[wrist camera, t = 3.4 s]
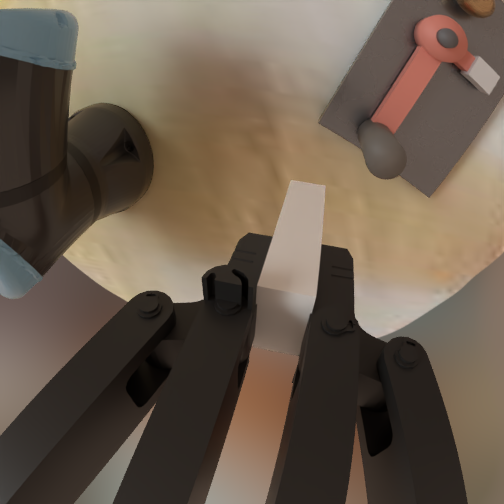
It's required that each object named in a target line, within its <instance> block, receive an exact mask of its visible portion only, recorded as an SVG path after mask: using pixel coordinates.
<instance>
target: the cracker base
mask: <svg viewBox="0 0 504 504" xmlns="http://www.w3.org/2000/svg"><path fill="white" fill-rule="evenodd" d="M433 15H445V16H448V17H450V18H452V19H453V20H455V21H456V22H457V23H458V24H459V25H460V26H461V27H462V29H463V30H464V32H465V34H466V37H467V41H468V49H467V51H468V52H470V53H471V54H472V55H473V56H480V57H481V58H482V59H483V60H484V61H485V62H486V63H487V64H488V65H489V66H490V67H491V68H492V69H493V70H494V71H495V72H496V73H497V74H498V75H499V76H500V78H499V80H498V82H497V83H496V85H495V87H494V88H493V90H492V91H491V93H490V95H488V94H485V93H483V92H480V91H479V90H478V89H477V88H476V87H475V86H474V85H473V84H472V83H471V82H470V81H469V80H468V79H467V78H465V77H464V76H463V75H462V74H461V73H460V72H461V70H460V69H459V68H458V67H457V66H456V65H455V64H454V63H449V62H441V64H440V65H439V67H438V68H437V70H436V71H435V73H434V75H433V76H432V78H431V79H430V81H429V82H428V84H427V85H426V87H425V89H424V90H423V92H422V93H421V95H420V96H419V98H418V99H417V101H416V102H415V104H414V105H413V107H412V108H411V110H410V111H409V113H408V114H407V116H406V117H405V119H404V120H403V122H402V123H401V124H400V126H399V127H398V129H397V130H396V132H395V133H394V136H395V137H396V139H397V140H398V141H399V143H400V144H401V146H402V147H403V148H404V150H405V152H406V156H407V163H406V166H405V169H404V170H403V172H402V173H401V174H400V176H401V177H402V178H404V179H405V180H406V181H408V182H409V183H411V184H412V185H413V186H414V187H416V188H417V189H418V190H420V191H421V192H422V193H424V194H425V195H426V196H427V197H430V196H431V195H432V194H433V193H434V191H435V190H436V189H437V188H438V186H439V185H440V184H441V182H442V181H443V180H444V179H445V177H446V176H447V175H448V173H449V172H450V171H451V170H452V168H453V167H454V166H455V164H456V163H457V162H458V160H459V159H460V158H461V156H462V155H463V154H464V152H465V151H466V149H467V148H468V147H469V145H470V144H471V143H472V141H473V140H474V138H475V137H476V135H477V134H478V133H479V131H480V130H481V128H482V127H483V125H484V124H485V122H486V121H487V119H488V118H489V116H490V115H491V113H492V112H493V110H494V109H495V107H496V106H497V104H498V102H499V101H500V99H501V98H502V96H503V94H504V3H503V2H502V1H501V0H392V1H391V2H390V4H389V6H388V7H387V9H386V10H385V12H384V14H383V15H382V17H381V18H380V20H379V22H378V23H377V25H376V27H375V28H374V30H373V31H372V33H371V35H370V36H369V38H368V40H367V41H366V43H365V44H364V46H363V48H362V49H361V51H360V53H359V54H358V56H357V57H356V59H355V61H354V62H353V64H352V66H351V67H350V69H349V71H348V72H347V74H346V76H345V77H344V79H343V80H342V82H341V84H340V85H339V87H338V89H337V90H336V92H335V94H334V95H333V97H332V99H331V100H330V102H329V104H328V105H327V107H326V109H325V110H324V112H323V114H322V115H321V117H320V119H319V122H318V123H319V124H321V125H323V126H324V127H326V128H328V129H329V130H331V131H333V132H334V133H336V134H338V135H339V136H341V137H343V138H344V139H346V140H348V141H349V142H351V143H352V144H354V145H356V146H357V147H359V148H360V149H361V146H360V143H359V140H358V129H359V127H360V125H361V124H362V123H363V122H364V121H366V120H369V119H371V118H372V117H373V115H374V114H375V112H376V110H377V109H378V107H379V106H380V104H381V103H382V101H383V100H384V98H385V97H386V95H387V94H388V92H389V90H390V89H391V87H392V86H393V84H394V83H395V81H396V80H397V78H398V76H399V75H400V73H401V72H402V70H403V69H404V67H405V65H406V64H407V62H408V61H409V59H410V58H411V56H412V54H413V53H414V51H415V50H416V48H417V44H416V42H415V39H414V29H415V26H416V24H417V23H418V22H419V21H420V20H422V19H424V18H427V17H430V16H433Z"/></svg>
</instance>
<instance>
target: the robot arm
mask: <svg viewBox="0 0 504 504" xmlns="http://www.w3.org/2000/svg"><path fill="white" fill-rule="evenodd" d="M77 36H78V22H77V19H76V18H75V16H74V15H73V14H72V13H70V12H68V11H64V10H56V9H35V8H18V9H0V294H1V295H2V296H4V297H7V298H10V299H16V298H21V297H22V296H24V295H25V294H26V293H27V292H28V291H29V290H30V289H31V288H32V287H33V286H34V285H35V284H36V283H37V282H40V281H41V280H42V277H43V275H45V273H46V272H47V271H48V270H49V269H50V268H51V267H52V266H53V264H54V263H55V262H56V261H57V260H58V259H59V258H60V257H61V256H62V255H63V254H64V253H65V252H66V250H67V249H68V248H69V247H70V246H71V245H72V244H73V243H74V242H75V241H76V240H77V239H78V238H79V237H80V236H81V235H82V234H83V233H84V232H85V231H86V230H87V229H88V228H89V227H90V226H91V225H92V224H93V223H94V222H95V221H97V220H99V219H102V218H104V217H107V216H109V215H112V214H114V213H118V212H121V211H124V210H126V209H128V208H129V207H131V206H132V205H133V204H135V203H136V202H137V201H138V200H139V199H140V198H141V197H142V196H143V195H144V194H145V192H146V191H147V189H148V187H149V185H150V182H151V179H152V174H153V156H152V151H151V147H150V144H149V141H148V138H147V136H146V134H145V132H144V130H143V129H142V127H141V126H140V124H139V123H138V122H137V121H136V119H135V118H134V117H133V116H131V115H130V114H129V113H128V112H127V111H125V110H124V109H122V108H120V107H118V106H115V105H112V104H107V103H98V104H93V105H91V106H88V107H86V108H83V109H81V110H79V111H77V112H76V113H74V114H73V115H72V116H71V117H69V101H70V90H71V80H72V72H73V70H74V69H76V61H75V52H76V43H77ZM68 117H69V119H68ZM325 187H326V186H325V185H319V184H313V183H307V182H301V181H295V180H291V181H290V184H289V187H288V190H287V194H286V197H285V200H284V203H283V206H282V210H281V213H280V216H279V219H278V222H277V225H276V228H275V232H274V235H273V237H271V236H265V235H259V234H253V233H248V234H246V235H245V236H244V237H243V238H241V239H240V240H239V242H238V244H237V246H236V248H235V251H234V252H233V255H232V257H231V259H230V261H229V263H228V265H222V266H217V267H214V268H212V269H210V270H208V271H207V272H206V273H205V274H204V275H203V276H202V286H203V296H204V300H201V301H198V302H191V303H173V302H172V300H171V298H170V297H169V296H168V295H166V294H165V293H163V292H159V291H146V292H143V293H140V294H138V295H137V296H135V297H134V298H132V299H131V300H130V301H129V302H128V303H127V304H126V305H125V306H124V307H123V308H122V309H121V310H120V311H119V312H118V313H117V314H116V315H115V316H114V317H113V318H112V319H110V321H108V323H106V324H105V325H104V326H103V327H102V328H101V329H100V330H99V331H98V332H97V333H96V334H95V335H94V336H93V337H92V338H91V339H90V341H88V342H87V343H86V344H85V345H84V346H83V347H82V348H81V349H80V350H79V351H78V352H77V353H76V354H75V356H74V357H73V358H72V359H71V360H70V361H69V362H68V363H67V364H66V365H65V366H64V367H63V368H62V369H61V370H60V371H59V372H58V373H57V374H56V375H55V376H54V377H53V378H52V380H50V382H49V383H48V384H47V385H46V386H45V387H44V388H43V389H42V390H41V391H40V392H39V393H38V394H37V396H36V397H35V398H34V399H33V400H32V401H31V402H30V403H29V404H28V405H27V406H26V407H25V409H24V410H23V411H22V412H21V413H20V414H19V415H18V416H17V418H16V419H15V420H14V421H13V422H12V423H11V424H10V426H9V427H8V428H7V429H6V430H5V431H4V432H3V433H2V435H1V436H0V504H74V502H75V501H76V500H77V499H78V498H79V496H80V495H81V494H82V493H83V492H84V491H85V489H86V488H87V487H88V486H89V484H90V483H91V482H92V481H93V480H94V478H95V477H96V476H97V475H98V474H99V472H100V471H101V470H102V469H103V467H104V466H105V465H106V464H107V463H108V461H109V460H110V459H111V458H112V457H113V455H114V454H115V453H116V452H117V450H118V449H119V448H120V447H121V445H122V444H123V443H124V442H125V440H126V439H127V438H128V437H129V436H130V434H131V433H132V432H133V431H134V429H135V428H136V427H137V426H138V424H139V423H140V422H141V421H142V419H143V418H144V417H145V416H146V414H147V413H148V412H149V411H150V409H151V408H152V407H153V406H154V404H155V403H156V405H155V407H154V409H153V411H152V414H151V416H150V418H149V420H148V423H147V425H146V427H145V429H144V432H143V434H142V436H141V438H140V441H139V443H138V445H137V448H136V450H135V452H134V455H133V457H132V459H131V461H130V464H129V466H128V468H127V471H126V473H125V476H124V478H123V480H122V483H121V486H120V487H119V490H118V492H117V495H116V497H115V499H114V502H113V504H204V503H205V501H206V498H207V495H208V492H209V489H210V486H211V483H212V480H213V477H214V473H215V471H216V468H217V465H218V461H219V458H220V455H221V452H222V449H223V446H224V443H225V439H226V436H227V433H228V430H229V426H230V423H231V420H232V417H233V413H234V410H235V407H236V404H237V400H238V397H239V394H240V391H241V387H242V384H243V380H244V377H245V374H246V370H247V367H248V363H249V353H250V350H251V347H252V343H253V347H255V348H260V349H265V350H269V351H275V352H280V353H285V354H290V355H296V356H299V361H298V365H297V368H296V372H295V374H294V378H293V381H292V383H293V387H292V392H291V397H290V402H289V407H288V412H287V416H286V421H285V425H284V430H283V435H282V439H281V443H280V448H279V452H278V457H277V460H276V464H275V469H274V472H273V476H272V480H271V484H270V488H269V492H268V496H267V499H266V503H265V504H345V502H346V496H347V490H348V484H349V477H350V469H351V462H352V454H353V445H354V436H355V425H356V424H357V429H358V436H359V442H360V448H361V455H362V461H363V468H364V476H365V483H366V491H367V499H368V504H468V503H467V497H466V491H465V485H464V480H463V475H462V470H461V466H460V461H459V457H458V452H457V448H456V445H455V441H454V437H453V433H452V429H451V426H450V422H449V419H448V415H447V412H446V409H445V405H444V402H443V399H442V396H441V393H440V390H439V387H438V383H437V381H436V378H435V375H434V372H433V369H432V367H431V364H430V361H429V358H428V355H427V353H426V351H425V350H424V348H423V347H422V346H421V345H420V344H419V343H418V342H417V341H415V340H413V339H411V338H409V337H396V338H393V339H391V340H390V341H389V342H388V343H386V342H384V341H381V340H380V339H377V338H375V337H373V336H371V335H369V334H368V333H366V332H365V331H364V330H363V329H362V328H361V327H360V326H359V324H358V321H357V320H356V318H355V314H354V280H353V279H354V272H353V258H352V256H351V255H350V253H349V251H348V250H347V249H345V248H339V247H334V246H328V245H322V232H323V219H324V204H325Z"/></svg>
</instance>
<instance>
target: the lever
mask: <svg viewBox="0 0 504 504" xmlns="http://www.w3.org/2000/svg"><path fill="white" fill-rule="evenodd" d="M414 39H415V42H416V44H417V48H416V50H415V51H414V53H413V54H412V56H411V58H410V59H409V61H408V62H407V64H406V65H405V67H404V69H403V70H402V72H401V73H400V75H399V76H398V78H397V80H396V81H395V83H394V84H393V86H392V87H391V89H390V90H389V92H388V94H387V95H386V97H385V98H384V100H383V101H382V103H381V104H380V106H379V107H378V109H377V110H376V112H375V114H374V115H373V117H372V118H371V119H369V120H366V121H364V122H363V123H362V124H361V125H360V127H359V129H358V140H359V143H360V146H361V149H362V152H363V155H364V158H365V162H366V165H367V167H368V169H369V171H370V172H371V173H372V174H373V175H374V176H376V177H378V178H381V179H392V178H395V177H397V176H398V175H400V174H401V173H402V172H403V170H404V169H405V166H406V163H407V156H406V152H405V150H404V148H403V147H402V146H401V144H400V143H399V141H398V140H397V139H396V137H395V136H394V133H395V132H396V130H397V129H398V127H399V126H400V124H401V123H402V122H403V120H404V119H405V117H406V116H407V114H408V113H409V111H410V110H411V108H412V107H413V105H414V104H415V102H416V101H417V99H418V98H419V96H420V95H421V93H422V92H423V90H424V89H425V87H426V85H427V84H428V82H429V81H430V79H431V78H432V76H433V75H434V73H435V71H436V70H437V68H438V67H439V65H440V64H441V62H449V63H454V64H455V65H456V66H457V67H458V68H459V69H460V70H461V72H460V73H461V74H462V75H463V76H464V77H465V78H467V79H468V80H469V81H470V82H471V83H472V84H473V85H474V86H475V87H476V88H477V89H478V90H479V91H480V92H483V93H485V94H488V95H490V93H491V91H492V90H493V88H494V87H495V85H496V83H497V82H498V80H499V78H500V76H499V75H498V74H497V73H496V72H495V71H494V70H493V69H492V68H491V67H490V66H489V65H488V64H487V63H486V62H485V61H484V60H483V59H482V58H481V57H480V56H473V55H472V54H471V53H470V52H468V51H467V49H468V41H467V37H466V34H465V32H464V30H463V29H462V27H461V26H460V25H459V24H458V23H457V22H456V21H455V20H453V19H452V18H450V17H448V16H445V15H433V16H430V17H427V18H424V19H422V20H420V21H419V22H418V23H417V24H416V26H415V29H414Z"/></svg>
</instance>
